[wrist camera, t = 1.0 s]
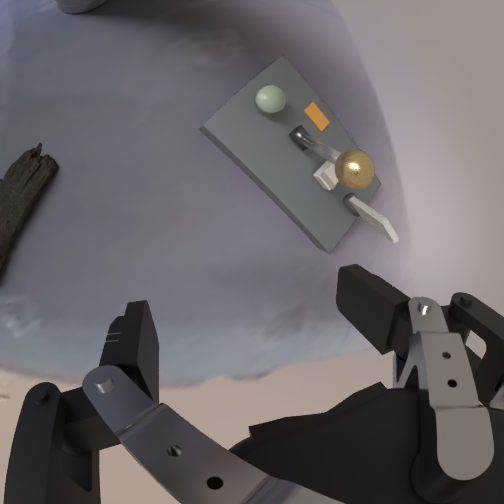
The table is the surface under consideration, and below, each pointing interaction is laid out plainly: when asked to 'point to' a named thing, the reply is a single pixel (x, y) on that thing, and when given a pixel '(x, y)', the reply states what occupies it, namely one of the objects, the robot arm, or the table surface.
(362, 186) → the brass lever
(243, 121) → the control panel
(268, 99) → the push button
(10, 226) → the wood
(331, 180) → the white rocker switch
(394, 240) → the pale grey paddle
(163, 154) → the table surface
